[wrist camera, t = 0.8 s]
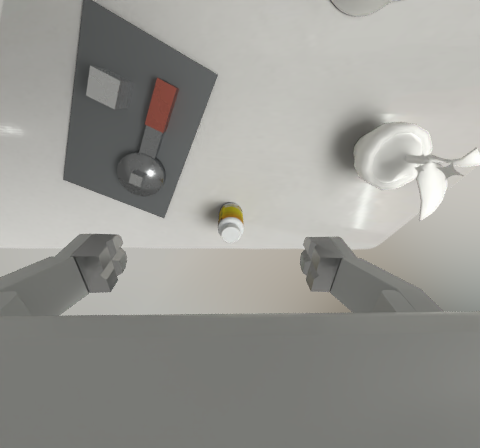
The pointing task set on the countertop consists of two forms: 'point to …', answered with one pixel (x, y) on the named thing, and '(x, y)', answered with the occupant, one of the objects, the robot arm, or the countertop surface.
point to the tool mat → (130, 107)
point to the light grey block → (109, 88)
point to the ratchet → (149, 145)
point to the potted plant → (406, 162)
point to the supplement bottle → (230, 222)
